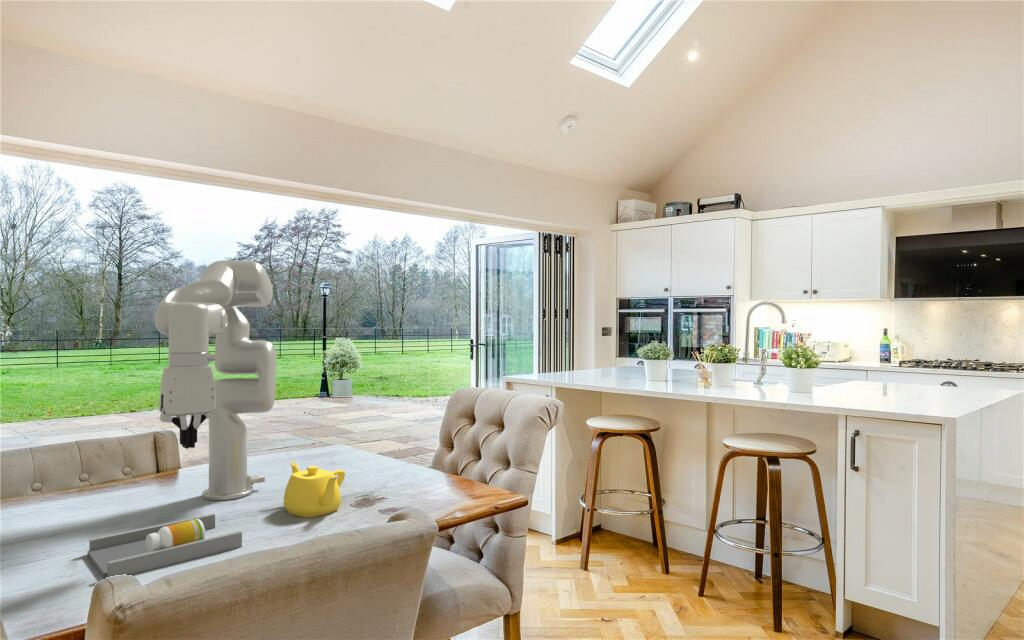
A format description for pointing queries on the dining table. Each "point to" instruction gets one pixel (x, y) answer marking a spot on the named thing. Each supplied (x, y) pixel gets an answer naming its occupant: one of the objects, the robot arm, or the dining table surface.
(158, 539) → the supplement bottle
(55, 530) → the dining table surface
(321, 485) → the teapot
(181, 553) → the grey channel
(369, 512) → the dining table surface
